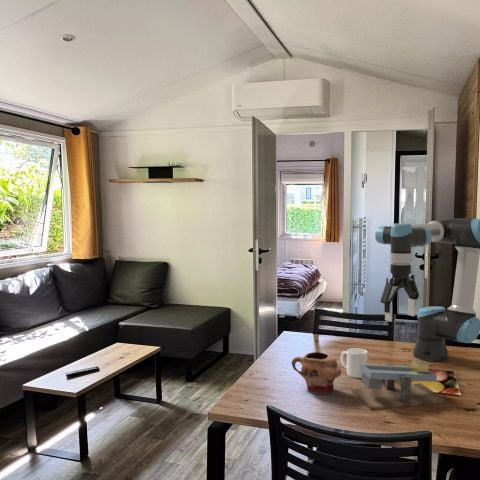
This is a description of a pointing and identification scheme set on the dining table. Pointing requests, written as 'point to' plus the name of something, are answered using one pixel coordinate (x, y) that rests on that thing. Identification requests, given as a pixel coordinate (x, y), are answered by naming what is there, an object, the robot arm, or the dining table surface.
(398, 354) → the dining table surface
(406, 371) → the grey long tray
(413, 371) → the block
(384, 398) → the low stand
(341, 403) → the dining table surface
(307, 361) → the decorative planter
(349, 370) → the cup
